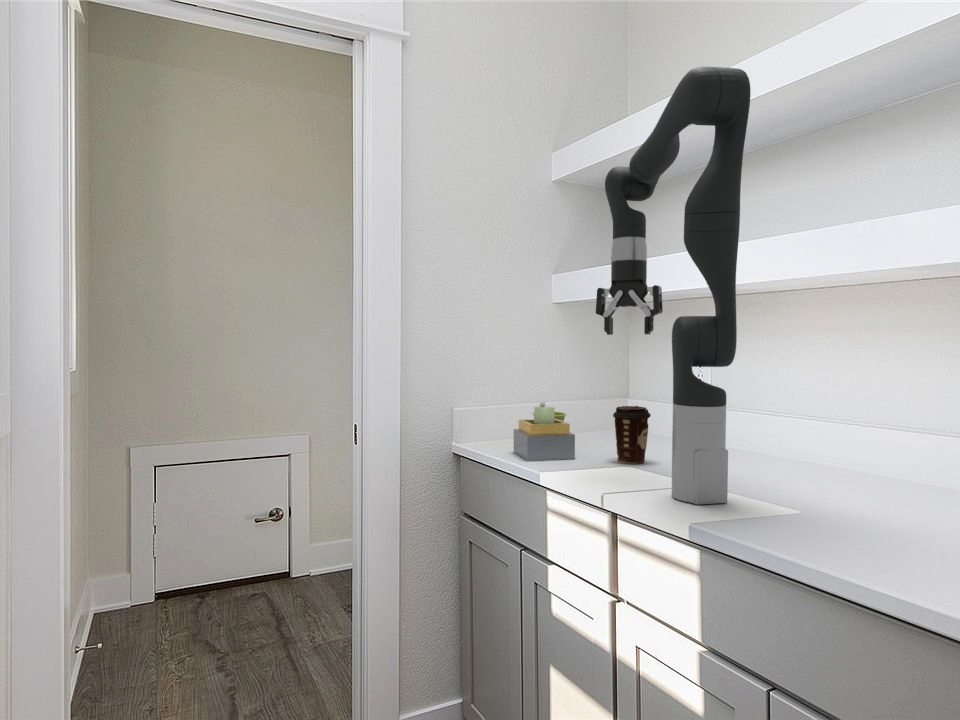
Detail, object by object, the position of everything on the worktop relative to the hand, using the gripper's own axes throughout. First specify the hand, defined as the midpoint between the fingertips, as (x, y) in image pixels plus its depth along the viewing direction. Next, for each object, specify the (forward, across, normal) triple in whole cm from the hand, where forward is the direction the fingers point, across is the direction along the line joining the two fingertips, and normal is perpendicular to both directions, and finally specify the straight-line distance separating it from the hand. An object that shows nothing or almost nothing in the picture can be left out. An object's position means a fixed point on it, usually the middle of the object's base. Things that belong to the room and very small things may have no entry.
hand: (628, 334), depth 140 cm
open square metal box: (+30, +24, -7) cm, 39 cm away
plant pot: (+30, +30, -23) cm, 49 cm away
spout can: (+27, +24, -7) cm, 37 cm away
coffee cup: (+30, +3, -11) cm, 32 cm away
